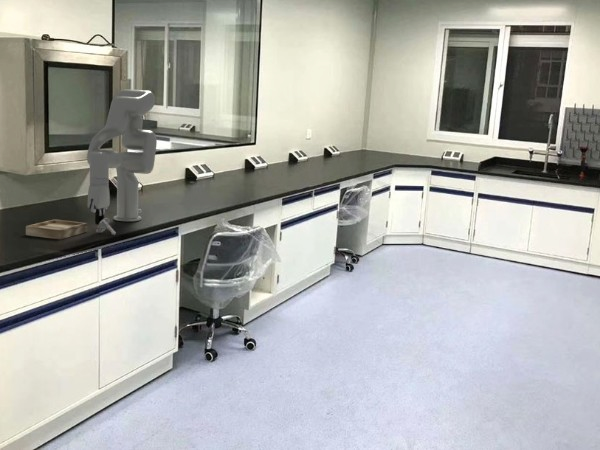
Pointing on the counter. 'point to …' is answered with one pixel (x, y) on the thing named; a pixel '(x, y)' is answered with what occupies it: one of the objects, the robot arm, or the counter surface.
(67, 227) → the beech platter
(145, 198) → the counter surface
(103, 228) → the stand
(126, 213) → the robot arm
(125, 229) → the counter surface
